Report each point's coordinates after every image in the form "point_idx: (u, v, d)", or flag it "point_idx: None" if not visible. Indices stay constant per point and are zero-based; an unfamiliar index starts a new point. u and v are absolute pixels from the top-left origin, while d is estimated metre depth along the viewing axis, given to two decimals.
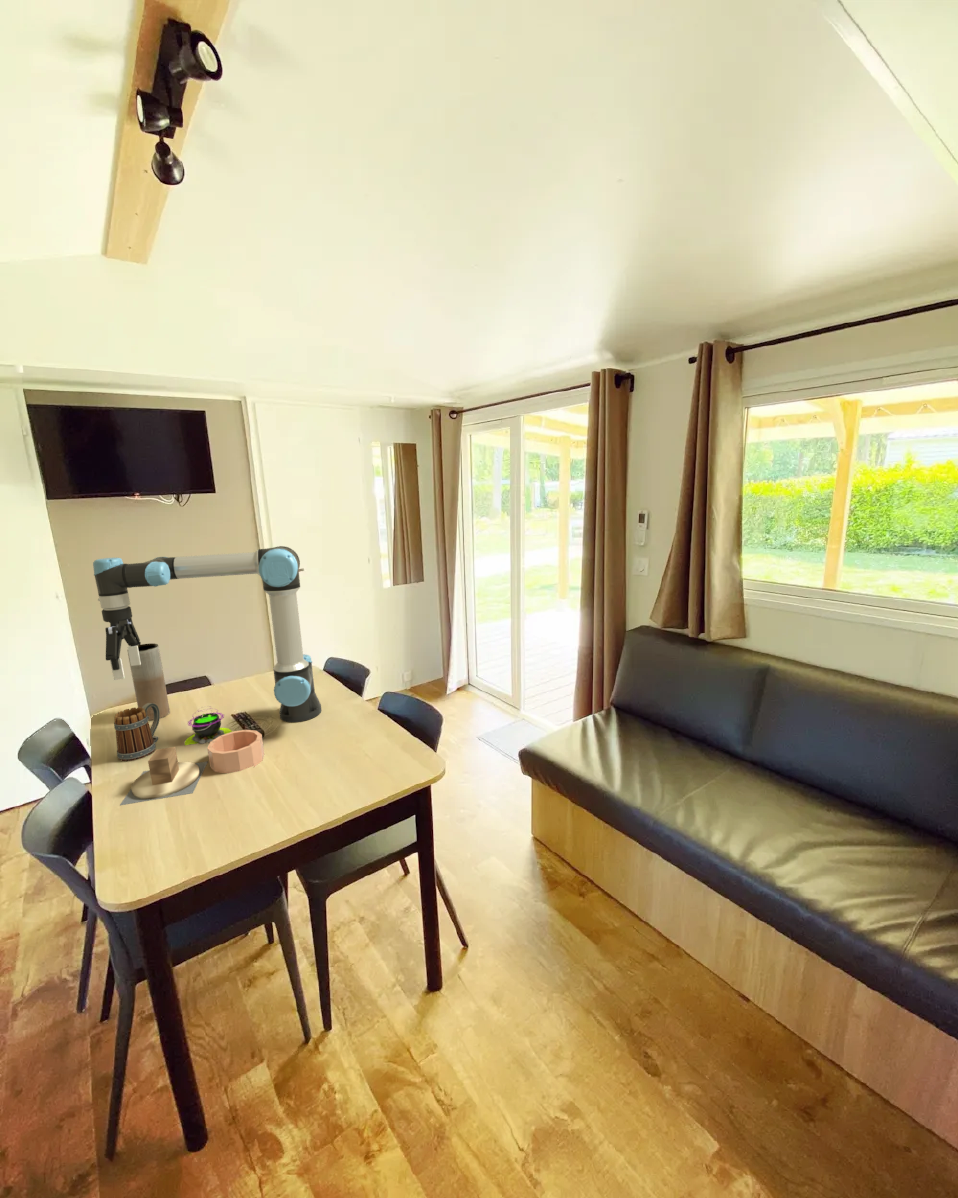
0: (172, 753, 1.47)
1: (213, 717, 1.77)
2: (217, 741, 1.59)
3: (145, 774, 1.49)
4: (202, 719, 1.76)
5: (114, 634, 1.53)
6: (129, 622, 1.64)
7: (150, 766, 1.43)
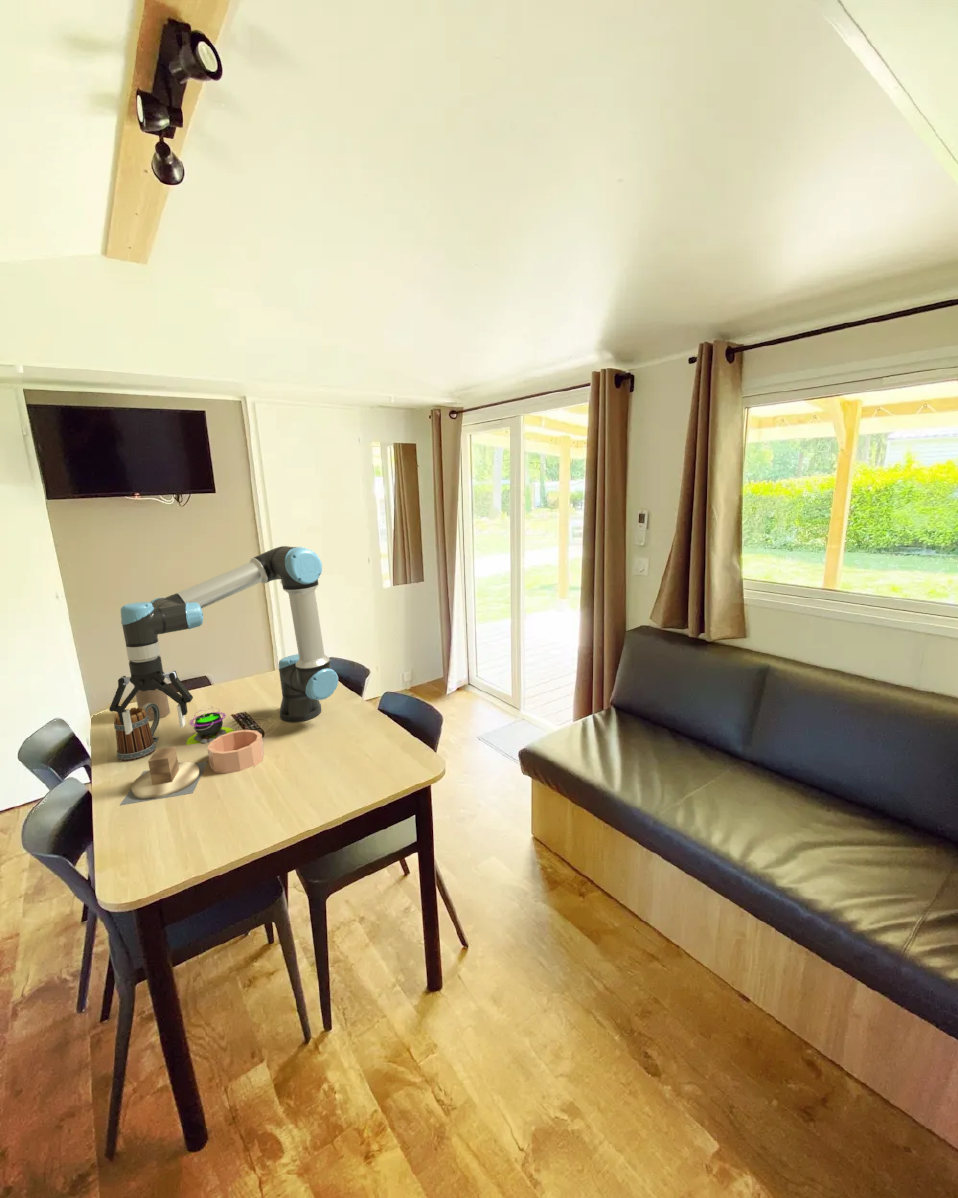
0: (172, 753, 1.47)
1: (215, 716, 1.78)
2: (217, 741, 1.59)
3: (145, 774, 1.49)
4: (204, 718, 1.76)
5: (118, 686, 1.39)
6: (169, 678, 1.42)
7: (150, 766, 1.43)
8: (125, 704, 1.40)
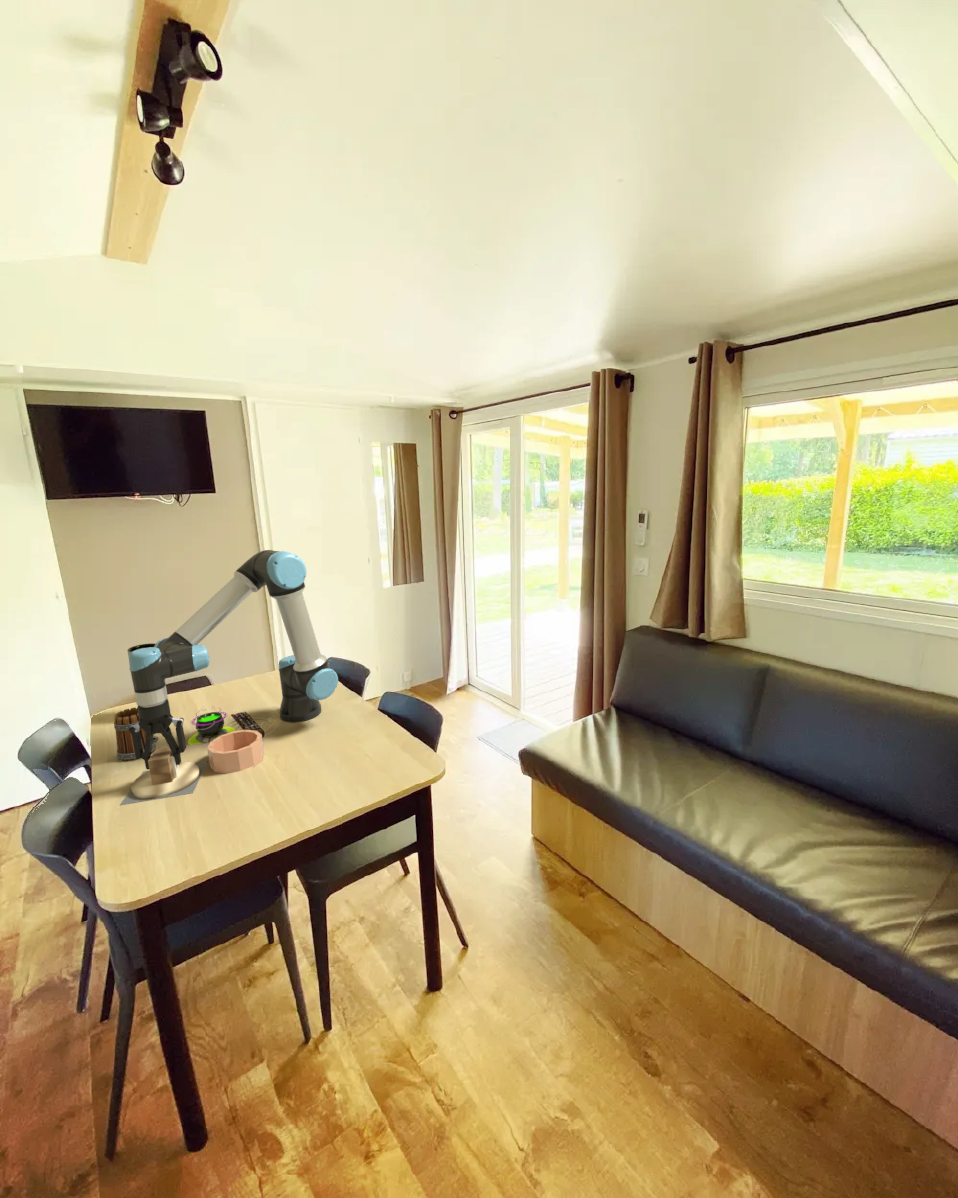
0: (172, 753, 1.47)
1: (216, 716, 1.78)
2: (217, 741, 1.59)
3: (145, 774, 1.49)
4: (205, 718, 1.77)
5: (132, 735, 1.42)
6: (175, 724, 1.45)
7: (150, 766, 1.43)
8: (147, 750, 1.44)
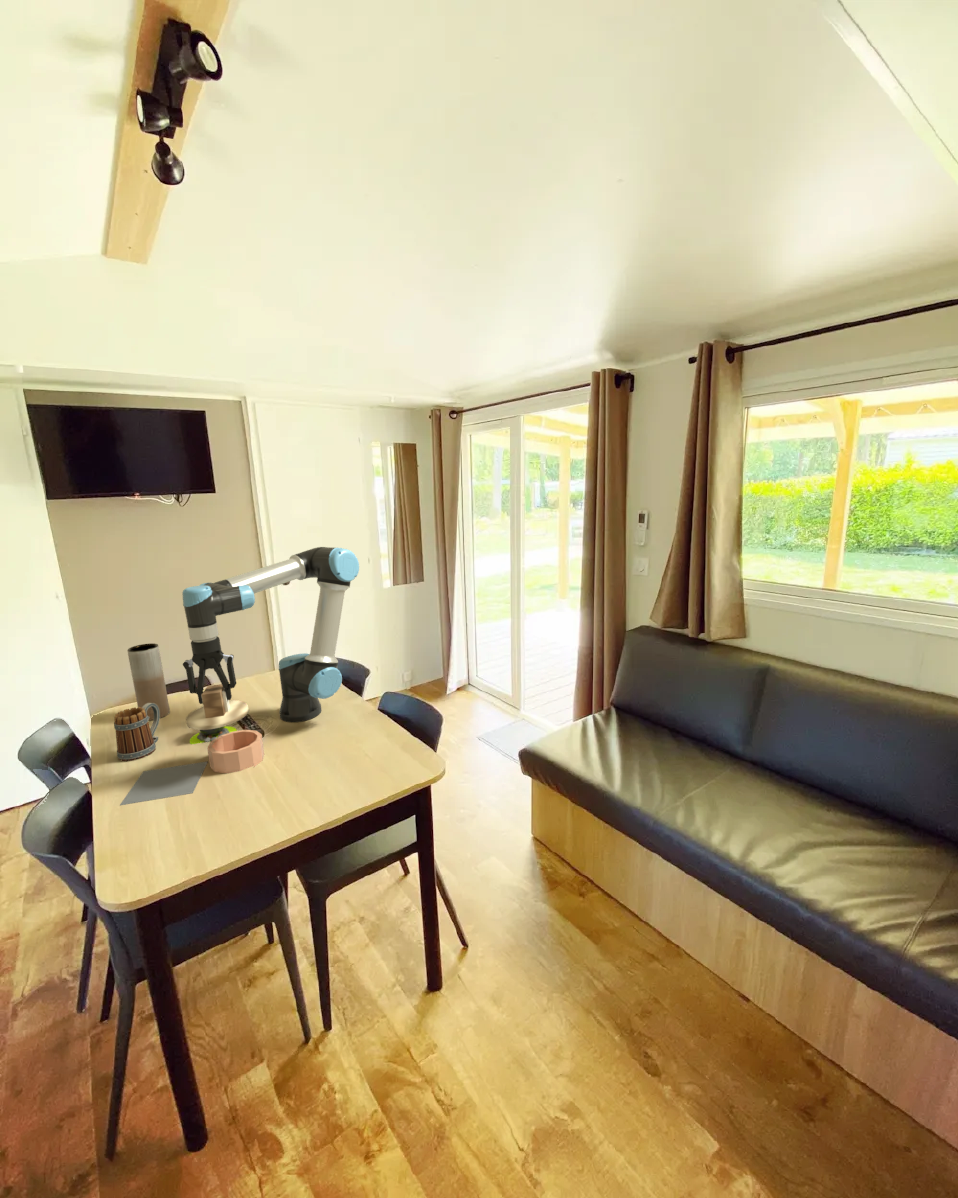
0: (223, 689, 1.53)
1: None
2: (217, 741, 1.59)
3: (197, 710, 1.56)
4: None
5: (186, 669, 1.48)
6: (226, 660, 1.50)
7: (203, 699, 1.48)
8: (200, 685, 1.50)
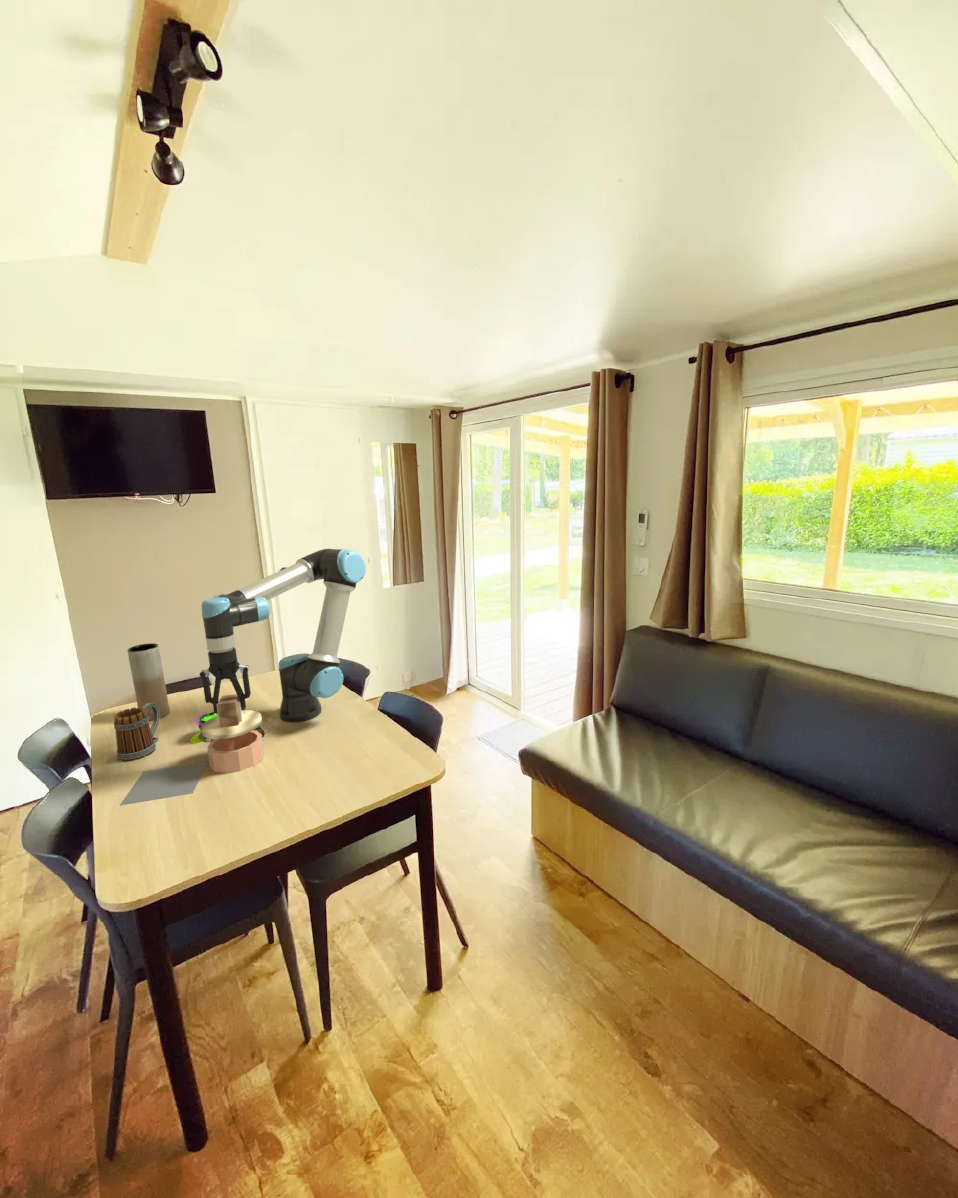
0: None
1: None
2: (217, 741, 1.59)
3: (211, 719, 1.58)
4: (208, 717, 1.77)
5: (202, 679, 1.51)
6: (242, 670, 1.53)
7: (219, 709, 1.51)
8: (216, 695, 1.52)
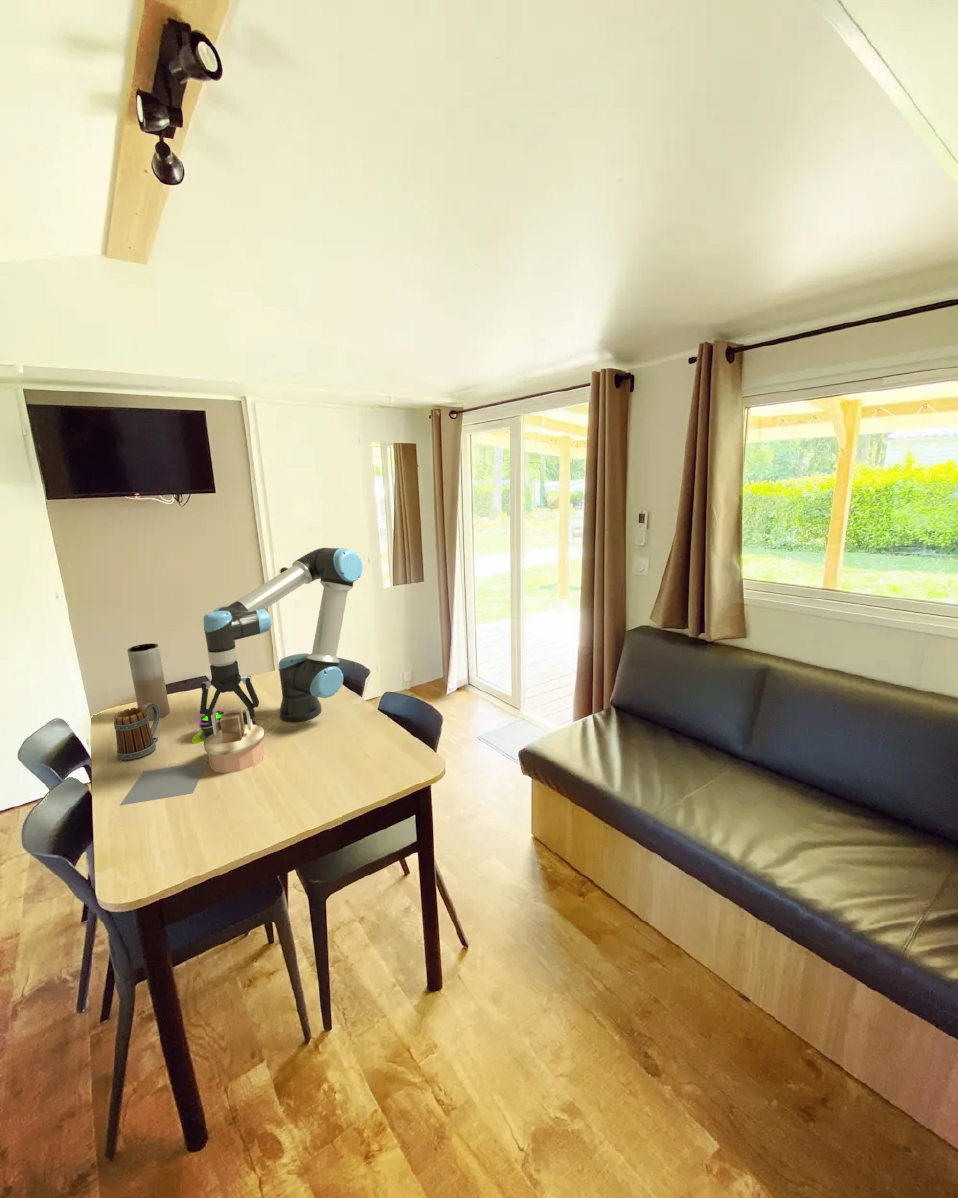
0: (240, 714, 1.57)
1: (220, 715, 1.79)
2: None
3: None
4: None
5: None
6: (244, 682, 1.54)
7: (222, 725, 1.52)
8: (212, 707, 1.53)
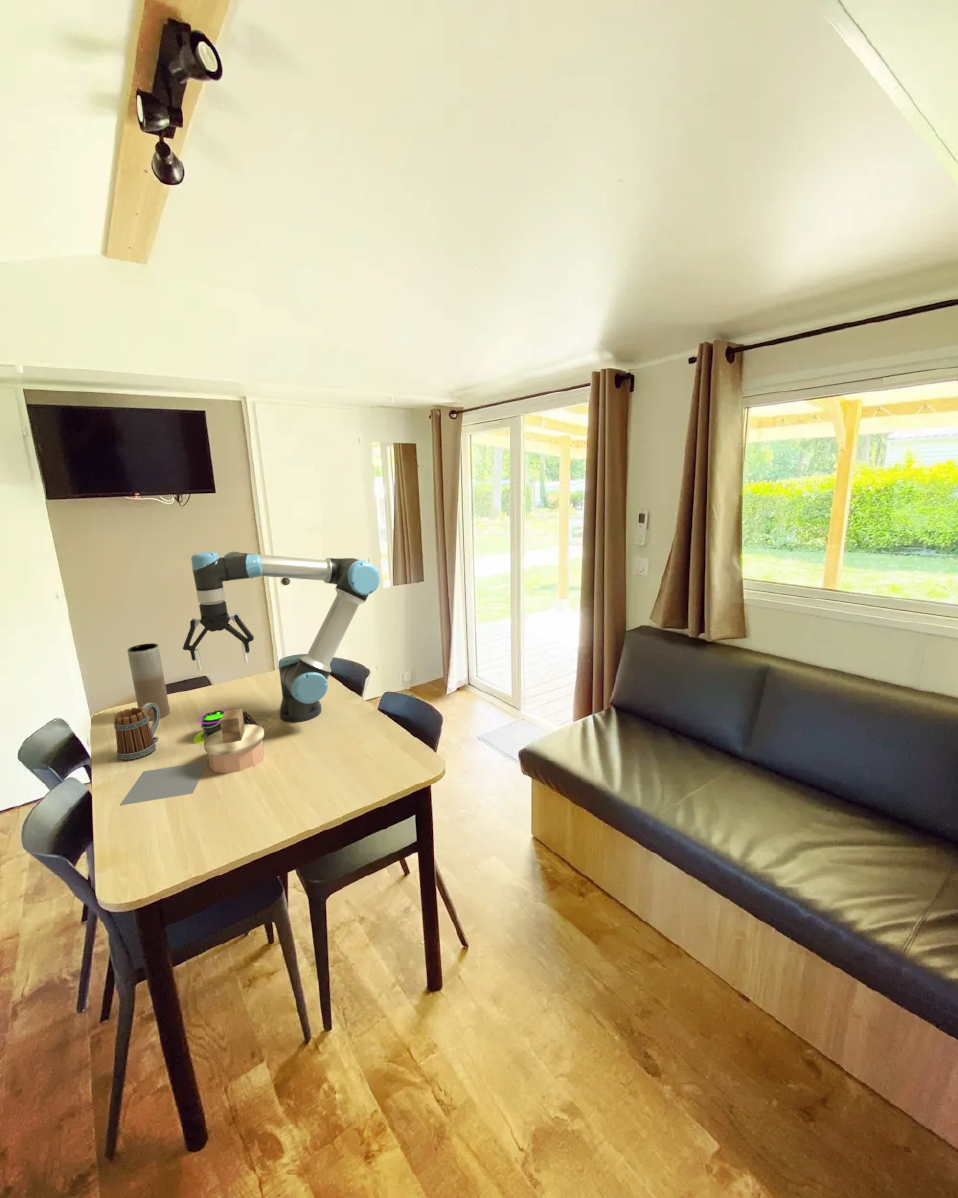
0: (240, 714, 1.57)
1: (221, 714, 1.79)
2: None
3: (214, 734, 1.59)
4: (211, 716, 1.78)
5: (190, 627, 1.56)
6: (234, 619, 1.60)
7: (222, 725, 1.52)
8: (196, 643, 1.58)
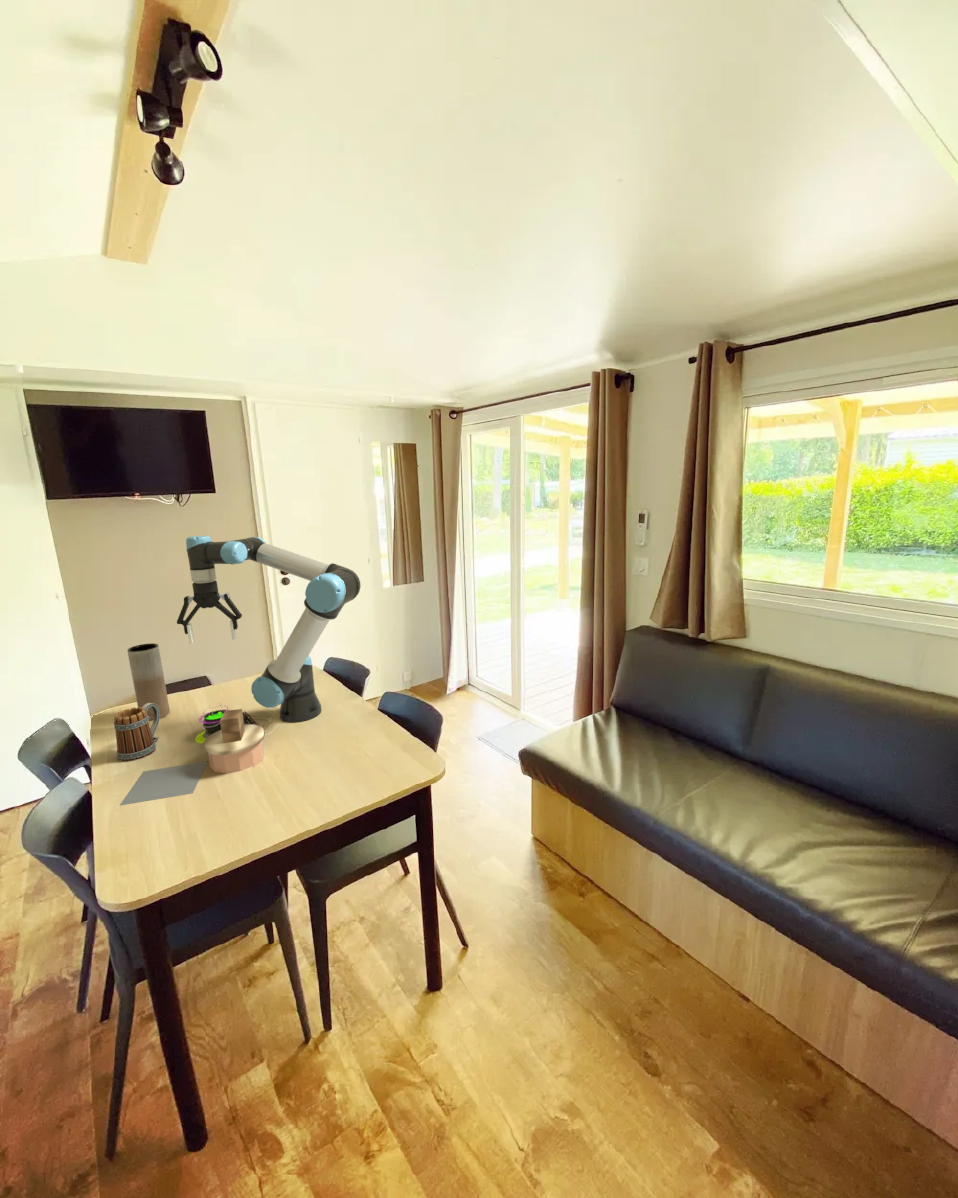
0: (240, 714, 1.57)
1: None
2: None
3: (214, 734, 1.59)
4: (212, 716, 1.78)
5: (184, 603, 1.72)
6: (223, 598, 1.75)
7: (222, 725, 1.52)
8: (189, 618, 1.73)
